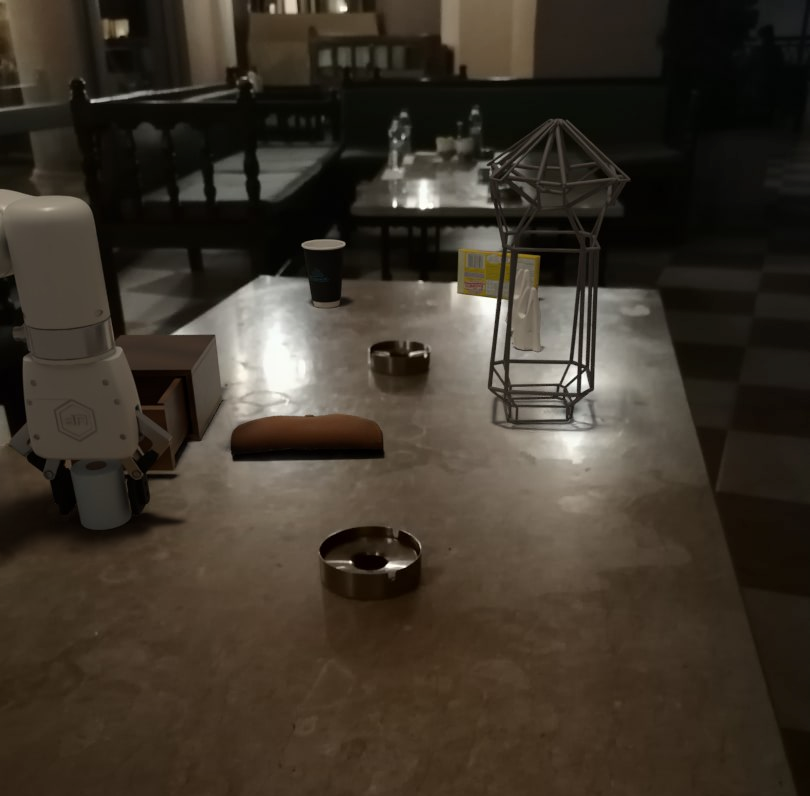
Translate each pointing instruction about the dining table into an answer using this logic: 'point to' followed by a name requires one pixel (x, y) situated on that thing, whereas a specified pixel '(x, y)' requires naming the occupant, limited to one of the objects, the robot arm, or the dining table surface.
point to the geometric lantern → (612, 195)
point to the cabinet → (180, 369)
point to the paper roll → (101, 493)
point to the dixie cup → (324, 271)
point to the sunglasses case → (306, 434)
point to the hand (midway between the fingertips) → (104, 508)
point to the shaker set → (525, 314)
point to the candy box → (490, 272)
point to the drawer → (164, 413)
